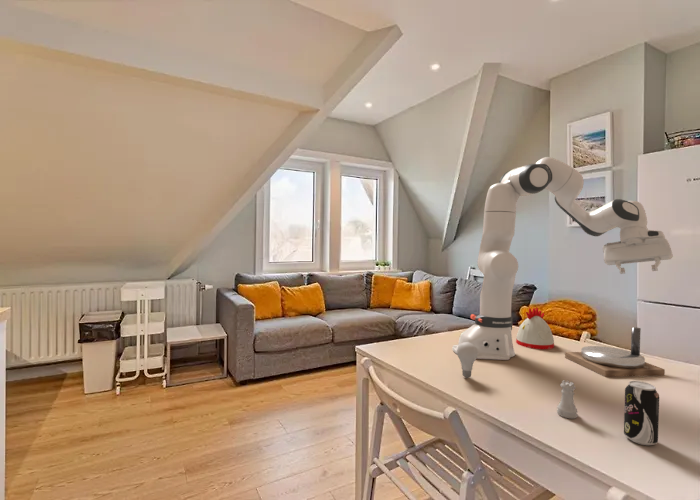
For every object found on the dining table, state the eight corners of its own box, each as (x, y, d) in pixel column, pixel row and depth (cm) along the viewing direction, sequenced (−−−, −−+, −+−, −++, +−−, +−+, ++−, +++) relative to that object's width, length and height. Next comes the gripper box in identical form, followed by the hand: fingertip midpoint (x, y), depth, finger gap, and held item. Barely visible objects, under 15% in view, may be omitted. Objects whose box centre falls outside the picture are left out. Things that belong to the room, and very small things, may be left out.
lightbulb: (477, 375, 116) (477, 340, 115) (477, 382, 110) (477, 346, 110) (456, 373, 118) (457, 338, 117) (455, 380, 112) (456, 344, 112)
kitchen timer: (509, 340, 157) (509, 305, 157) (536, 339, 160) (537, 304, 160) (532, 350, 144) (533, 312, 143) (562, 348, 147) (563, 310, 146)
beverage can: (616, 433, 81) (618, 379, 81) (641, 433, 82) (643, 379, 81) (638, 448, 76) (640, 390, 75) (665, 447, 76) (667, 389, 76)
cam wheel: (599, 367, 118) (600, 332, 118) (571, 350, 136) (572, 320, 135) (662, 369, 116) (663, 334, 116) (626, 352, 134) (627, 322, 134)
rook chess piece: (552, 410, 92) (553, 379, 92) (569, 410, 92) (570, 378, 92) (564, 419, 88) (565, 386, 87) (582, 419, 88) (583, 385, 88)
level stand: (605, 376, 116) (605, 369, 116) (565, 357, 135) (565, 351, 135) (664, 375, 117) (664, 368, 117) (616, 356, 136) (616, 350, 136)
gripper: (600, 239, 146) (602, 270, 140) (667, 230, 132) (673, 264, 126) (604, 247, 150) (606, 278, 144) (670, 239, 136) (675, 272, 130)
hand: (638, 271), depth 135 cm, fingers open, 8 cm apart
